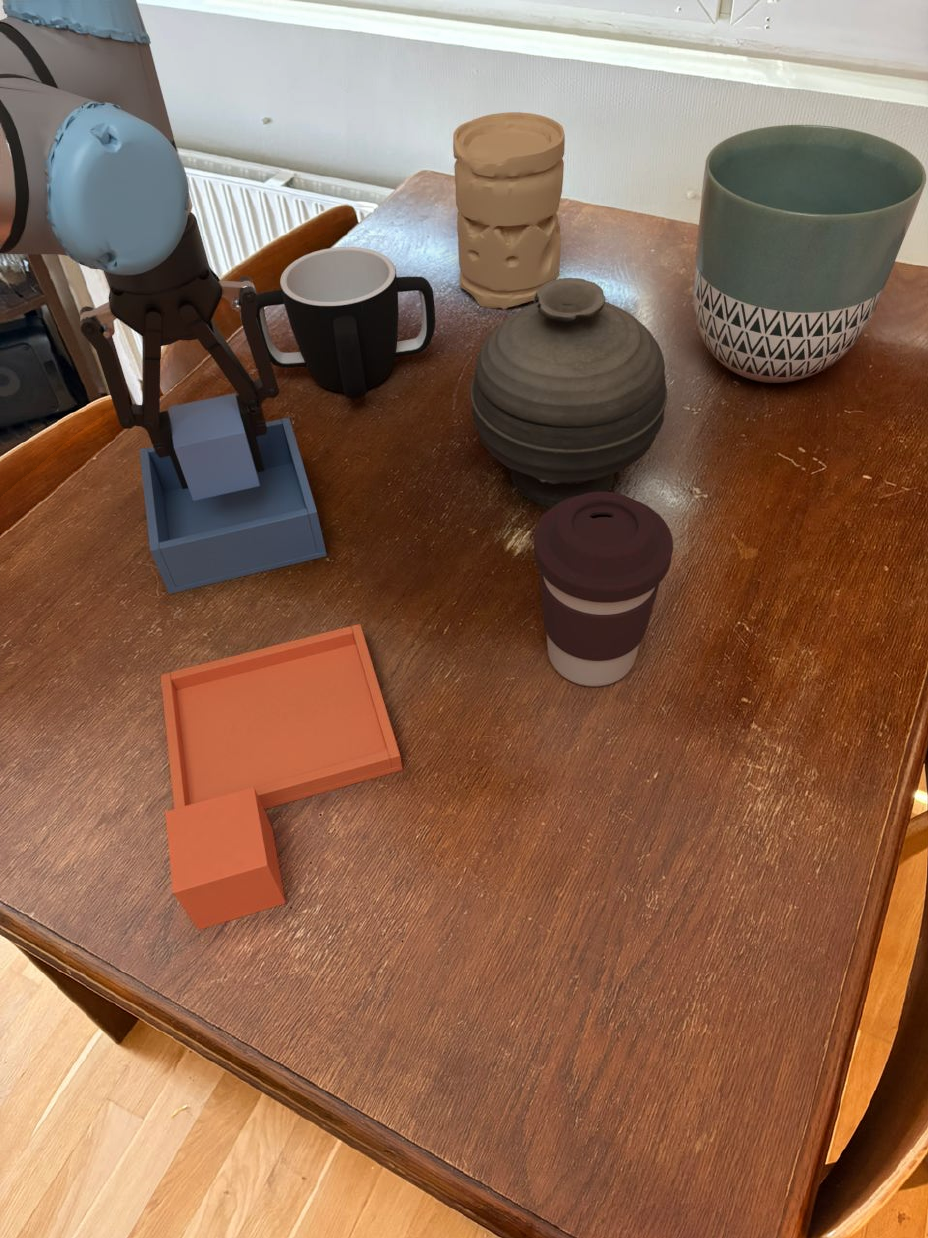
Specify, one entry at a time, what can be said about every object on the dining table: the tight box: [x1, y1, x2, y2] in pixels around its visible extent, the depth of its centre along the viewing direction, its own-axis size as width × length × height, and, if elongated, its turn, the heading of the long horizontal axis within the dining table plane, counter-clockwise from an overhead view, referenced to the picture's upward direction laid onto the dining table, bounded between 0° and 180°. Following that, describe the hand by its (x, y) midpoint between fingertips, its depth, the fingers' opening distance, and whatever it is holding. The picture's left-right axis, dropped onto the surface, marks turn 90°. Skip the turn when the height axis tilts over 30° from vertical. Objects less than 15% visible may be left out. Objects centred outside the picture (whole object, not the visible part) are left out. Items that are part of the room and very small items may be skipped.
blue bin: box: [139, 416, 328, 595], centre depth 85 cm, size 15×15×6 cm
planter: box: [692, 124, 927, 384], centre depth 92 cm, size 20×20×21 cm
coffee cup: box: [533, 491, 674, 687], centre depth 69 cm, size 10×10×15 cm
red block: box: [164, 787, 286, 931], centre depth 61 cm, size 6×6×6 cm
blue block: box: [167, 392, 260, 501], centre depth 80 cm, size 6×6×6 cm
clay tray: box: [160, 623, 404, 810], centre depth 70 cm, size 17×14×2 cm
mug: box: [256, 246, 436, 400], centre depth 98 cm, size 16×16×12 cm
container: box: [452, 111, 566, 311], centre depth 107 cm, size 13×13×18 cm
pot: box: [469, 277, 668, 509], centre depth 82 cm, size 18×18×20 cm
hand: (222, 470), depth 82 cm, fingers closed on blue block, 6 cm apart
